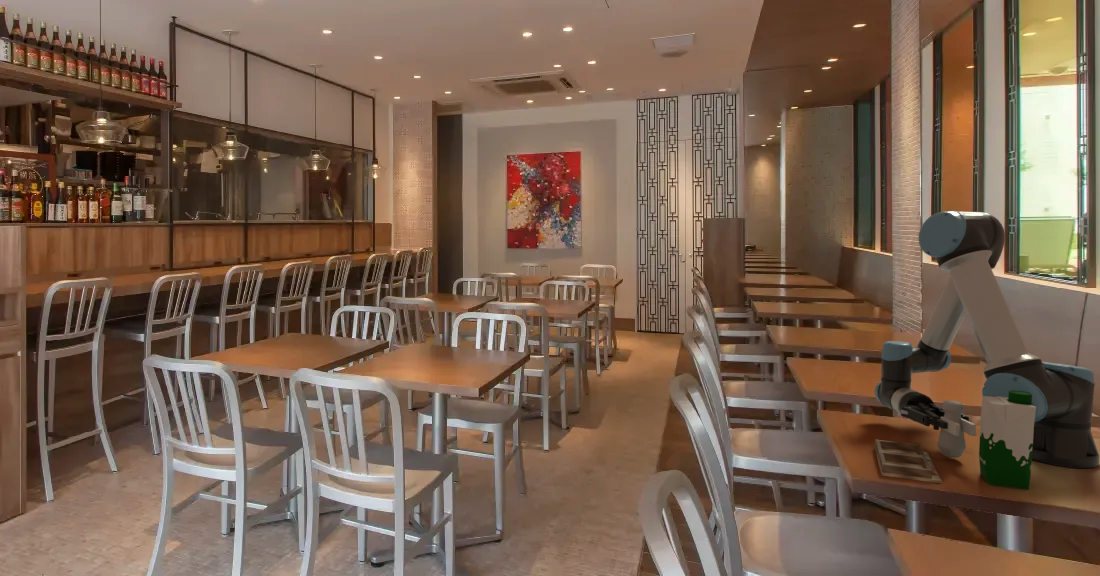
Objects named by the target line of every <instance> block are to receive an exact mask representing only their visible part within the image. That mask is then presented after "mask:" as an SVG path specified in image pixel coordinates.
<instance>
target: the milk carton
mask: <svg viewBox="0 0 1100 576" xmlns="http://www.w3.org/2000/svg"><path fill="white" fill-rule="evenodd" d="M981 397H982V399H981V410H980V411H981V412H980V426H979V429H980V431H979V443H978V444H979V446H978V448H979V449H978V453H979V454H978V459H979V472H980V474H981V476H982V477H983V479H984V481H986V482H987V484H988V485H991V486H996V487H997V486H998V487H1005V488H1013V489H1023V490H1030V482H1031V481H1030V480H1031V474H1032V473H1031V472H1032V463H1033V461H1032V460H1033V459H1032V450H1033V432H1034V420H1035V413H1036V407H1035V406H1034V405H1033V403H1032V393H1029V392H1025V391H1016V390H1012V391H1009V396H1008V397H1000V396H996V397H990V396H982V395H981Z"/></svg>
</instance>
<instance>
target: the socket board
mask: <svg viewBox="0 0 1100 576" xmlns="http://www.w3.org/2000/svg"><path fill="white" fill-rule="evenodd" d="M874 444H875V445H874V450H875V455H876V458H877V461H878V462H877V463H878V465H879V469H880V473H881V476H882V477H883V476H885V477H891V478H897V479H898V478H899V479H905V480H913V481H921V482H926V483H934V484H935V483H936V484H942V479H941V478H940V475H939V473H938V471H937V470H936V467H935V465H934V463H933V462H932V459H931V457H930V456H929V454H928V452H927V451H924V450H923V449H922V446H921V444H917V443H909V442H901V441H894V440H893V441H891V440H885V439H882V440H881V439H875V443H874Z"/></svg>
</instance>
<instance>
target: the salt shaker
mask: <svg viewBox="0 0 1100 576" xmlns="http://www.w3.org/2000/svg"><path fill="white" fill-rule="evenodd" d="M941 408H942V409H943V410H944V411H945V414H944V418H946V419H949V420H951V421H953V422H955V423H958V424H960V430H959V436H955V435H953V434H951V433H949V432H947V431H945V430H943V429H941V428H940V430H939V435H938V440H937V442H936V443H937V446H938V449H939V452H941V454H942V455H943V456H946V457H949V458H960V457H962V456H963V454H964V452H965V450H966V449H967V445H966V438H965V432H963V431H962V425H961V414H960V413H963V412H964V409H965V408H964V404H963V403H962V402H959V401H956V400H944V401H943V402H942V406H941Z"/></svg>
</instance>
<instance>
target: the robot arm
mask: <svg viewBox="0 0 1100 576" xmlns="http://www.w3.org/2000/svg"><path fill="white" fill-rule="evenodd" d="M1005 241H1006V233H1005V228H1004V226H1003V224H1002V223H1001V221H1000V220H999V218H996V216H994V215H993V214H989V213H987V212H982V211H957V210H948V211H940V212H935V213H934V214H932V215H930V216H929V217H928V218H927V219H925V221H924V222H923V224H922V226H921V227H920V230H919V234H918V244H919V247H920V249H921V250H922V251H923V253H924V254H926V255H928V256H930V257H931V258H935V260H936V263H937V265H938V267H939V269H940V270H941V271H943V272H946V273H948V274H949V277H948V279H947V281H946V284H945V285H944V288H943V290H942V292H941V295H940V297H939V299H938V301H937V303H936V305H935V307H934V310H933V312H932V314H931V316H930V318H929V319H928V322H927V324H926V326H925V329H924V331H923V333H922V335H921V338H920V340H919V342H918V343H917V346H913V344H912V343H910V342H907V341H901V340H888V341H887V340H886V341H884V342H883V344H882V347H881V349H882V351H881V356H880V358H881V371H880V373H881V375H880V377H881V378H880V381H879V382H878V383H877V385H876V386H875V388H874V397H875V399H876V400H877V402H879V403H880V404H881V405H882V406H884V407H886V408H888V409H890V410H893V411H895V412H896V413H898V414H900V416H901V417H904V418H906V419H910V420H912V421H913V422H915V423H918V424H920V425H922V426H924V427H931V426H932V427H933V428H932V429H933V430H935V431H940V430H941V429H943V430H945V431H947V432H949V433H951V434H953V435H955V436H959V430H960V424H958V423H955V422H953V421H951V420H949V419H946V418H944V414H945V411H944V410H943V409H942V406H940V405H939V406H938V405H937V404H936V403H934V401H933V399H932V398H931V397H929V396H928V395H926V394H923V393H922V392H919V391H918V390H914V389H912V374H914V375H915V374H922V373H934V372H939V371H944V370H946V369H948V367H949V366H950V364H951V362H952V355H951V352H950V351H949V350H950V348H951V347H952V345H953V342H954V340H955V338H956V336H957V334H958V333H959V330H960V328H961V326H962V325H963V322H964V320H965V318H966V316H967V318H968V321H969V323H970V324H971V328H972V330H973V332H974V334H975V335H974V336H975V337H976V339H977V342H978V345H979V346H980V349H981V351H982V354H983V355H984V358H985V360H986V365H985V367H984V369H983V370H982V372H983V374H984V377H985V379H986V380H985V381H984V383H983V387H982V388H981V397H982V396H990V397H996V396H1000V397H1008V396H1009V391H1012V390H1016V391H1025V392H1029V393H1032V403H1033V405H1034V406H1035V407H1036V413H1035V420H1034V432H1033V450H1032V460H1033V461H1037V462H1041V463H1046V464H1049V465H1052V466H1053V465H1054V466H1059V467H1067V468H1074V469H1075V468H1077V469H1092V468H1096V467H1099V463H1100V453H1099V451H1098V448H1097V446H1096V442H1095V439H1094V437H1093V433H1092V421H1093V419H1092V418H1093V407H1094V406H1093V405H1094V404H1093V403H1094V394H1095V385H1096V382H1095V374H1094V371H1093V370H1091V369H1090V368H1087V367H1083V366H1076V365H1070V364H1064V363H1055V362H1049V361H1042V358H1041V357H1038V356H1037V355H1034V354H1032V353H1030V352H1029V350H1028V349H1029V348H1028V346H1027V345H1026V342H1025V341H1024V338H1023V335H1022V333H1021V331H1020V329H1019V326H1018V325H1017V322H1016V320H1015V318H1014V315H1013V314H1012V311H1011V309H1010V307H1009V304H1008V302H1007V301H1006V298H1005V296H1004V293H1003V292H1002V290H1001V287H1000V284H999V283H998V281H997V278H996V276H995V274H994V272H993V269H995V268H996V266H997V264H998V262H999V260H1000V258H1001V256H1002V253H1003V250H1004V245H1005ZM960 414H961V425H962V431H963V432H964V434H968V435H969V436H971V437H976V435H977V424H975V423H973V422H971V421H970V416H969V415H967V414H965V413H963V412H961V413H960Z"/></svg>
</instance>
